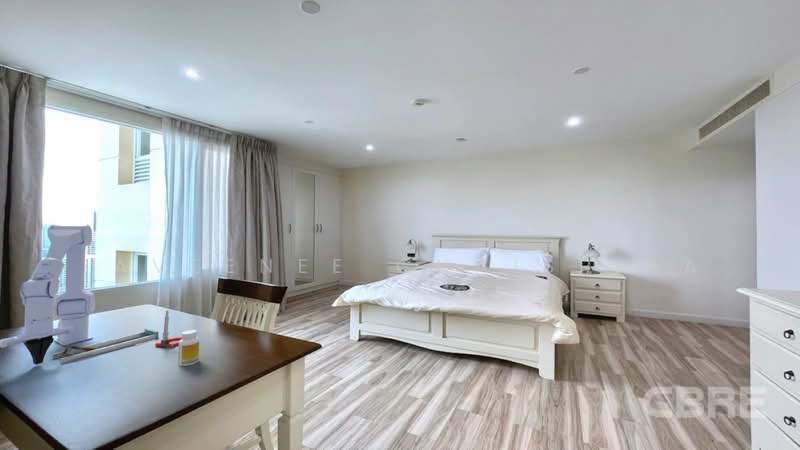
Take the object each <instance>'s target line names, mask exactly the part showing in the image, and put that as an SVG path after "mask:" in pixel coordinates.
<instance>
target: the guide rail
mask: <svg viewBox="0 0 800 450" xmlns="http://www.w3.org/2000/svg"><path fill="white" fill-rule="evenodd" d="M157 339H159V331H158V330H155V329H151V328H148V327H147V328H144V330H143V331H140V332H136V333H132V334H128V335H124V336H120V337H117V338H112V339H108V340H104V341H100V342H96V343H91V344H88V345H87V344H86V345H84V346H82V347H85V348H94V347H96V349H95V350H92V351H85V350H77V349H76V350H75V349H72V348H71V349H72V350H70V349H68V350H70V351H68V350H67V351H68V352H66V353H65V354H66V355H67V354H70V353H71V354H75V355H73V356H69V357H68V356H65V355H64V356H63V358H60V357H61V355H62V353H63V352H64V351H65V350H62V351H59V352H54V353H51V360H56V359H58V358H59V359H60V364H61V365H64V364H67V363H70V362H74V363H77V362H81V361H84V360H88V359H91V358H96V357H97V355H101V354H104V353H107V352H111V351H115V350H119V349H122V348H126V347H129V346H133V345H134V346H140V345H143V344H146V343H149V342H155V341H156V340H157Z"/></svg>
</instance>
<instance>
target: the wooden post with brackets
mask: <svg viewBox="0 0 800 450" xmlns="http://www.w3.org/2000/svg"><path fill="white" fill-rule="evenodd" d="M62 347H63V348H64V350H63V351H64V352H63V353H62V355H61V357H59V359H61V358H64V357H69V356H73V355H76V353H75V354H71V353H70V354H67V355H66V354H65V353H66V352H68V351H70V350H72V349H75V350H76V349H77V350H85V351H84V352H88V351H92V350H96V349H97V348H96V347H94V348H85V347H83V346H79V345H72V343H71V344H66V345H63V346H62ZM67 350H68V351H67ZM64 355H65V356H64Z"/></svg>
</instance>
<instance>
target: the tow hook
mask: <svg viewBox="0 0 800 450" xmlns="http://www.w3.org/2000/svg"><path fill="white" fill-rule="evenodd" d="M169 320H170V316H169V310H166V311H165V316H164V323H163V324H164V325H163V326H164V327H163V332H162V339H160V342H156V343H155V345H154V346H155V347H157V348H159V347H160V348H170V349H173V348H174V347H176V346H179V341H180V340H181V339H182V337H181V336H178V337H171V338H169V322H170V321H169ZM174 341H175V342H174Z"/></svg>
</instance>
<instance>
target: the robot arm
mask: <svg viewBox="0 0 800 450" xmlns="http://www.w3.org/2000/svg"><path fill="white" fill-rule="evenodd" d="M47 238H48V240H49V242H50V246H48V251H47V254H46V258H43V259H41V260H39V261H38V263H37V265H36V267H35V268H34V270H33V273H32V275H31V277H30V279H28V280H27V281H24V282H23V283H22V284H21V288H20V291H19V294H20V297H21V299H22V301H21V303H22V305H23V306H24V325H23V326H24V330H23V333H24V334H19V335H15V336H11V337H8V338H7V337H6V338H2V339H0V348H1V349H2V348H8V346H14V345H18V344H23V345H24V346H25V348H27V351H28V352H29V353H30V356H31V359H32V361H33V364H34V365H40V364H43V363H44V360H45V355H46V354H47V352H48V350H49V348H50V347H51V345H52V344H53V343H54V342H56V343H58V344H60V345H63V346H64V345H67V344H68V345H69V344H71V345H72V344H74V343H79V342H82V341H86V340H92V339H94V336H91V335H89V325H90V324H89V317H90V315H91V314H93V312H94V311H95V309H96V298H95V293H94V292H92V291H89V290H88V289H85V275H86V274H85V272H86V270H85V269H86V268H85V266H86V264H85V263H86V261H85V259H86V248H87V247H88V246H91V245H92V242H93V229H92V227H91V225H89V224H88V223H85V224H81V223H80V224H78V223H77V224H76V223H74V224H71V223H69V224H66V223H65V224H64V223H60V224H59V223H58V224H57V223H51V224H50V225H49V227H48V228H47ZM65 256H66V259H65V260H66V262H65V263H64V262H63V259H64V258H65ZM64 267H65V291H64V292H62V293H60V294H59V295H58V296H57V294H58V292H59V288H60V276H61V274H62V272H63V269H64ZM56 296H57V297H56ZM55 297H56V298H55ZM54 316H55V317H57V318H58V320H59V321H58V323H57V327H55V328H54ZM54 337H57V338H54Z"/></svg>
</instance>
